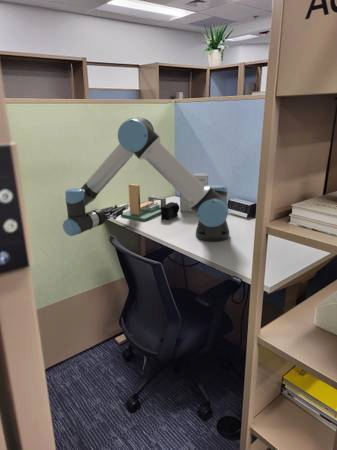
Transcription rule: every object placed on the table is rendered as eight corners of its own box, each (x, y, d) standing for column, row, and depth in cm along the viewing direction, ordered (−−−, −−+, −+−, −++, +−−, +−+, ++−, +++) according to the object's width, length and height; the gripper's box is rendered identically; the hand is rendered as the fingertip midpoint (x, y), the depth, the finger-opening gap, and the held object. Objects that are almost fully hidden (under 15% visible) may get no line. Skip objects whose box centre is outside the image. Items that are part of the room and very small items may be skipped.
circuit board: (144, 221, 178) (144, 218, 177) (120, 216, 186) (120, 213, 186) (171, 209, 197) (171, 206, 197) (148, 205, 206) (148, 202, 205)
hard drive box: (207, 208, 199) (208, 173, 192) (207, 212, 191) (208, 176, 185) (180, 207, 200) (180, 173, 193) (179, 211, 193) (179, 176, 186)
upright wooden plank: (139, 215, 181) (137, 185, 176) (130, 214, 184) (128, 184, 179) (155, 208, 193) (154, 180, 187) (146, 207, 196) (145, 179, 190)
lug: (162, 207, 195) (162, 199, 194) (148, 205, 200) (148, 196, 199) (165, 206, 198) (165, 197, 196) (151, 203, 203) (151, 195, 201)
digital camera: (170, 221, 178) (170, 208, 176) (161, 219, 180) (160, 206, 178) (179, 215, 186) (179, 203, 184) (170, 214, 189) (170, 201, 187)
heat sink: (151, 212, 188) (150, 206, 187) (139, 209, 192) (139, 204, 191) (159, 208, 194) (159, 203, 193) (147, 206, 198) (147, 201, 197)
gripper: (84, 224, 163) (117, 211, 181) (105, 229, 156) (137, 215, 174) (82, 208, 160) (116, 197, 179) (103, 213, 153) (136, 200, 172)
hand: (127, 206), depth 176 cm, fingers closed
